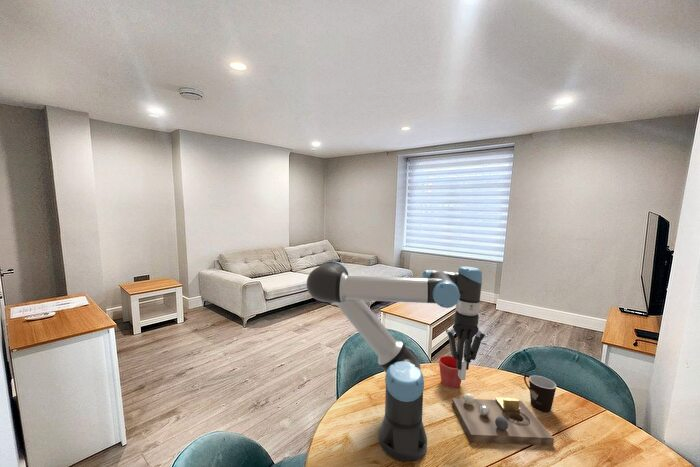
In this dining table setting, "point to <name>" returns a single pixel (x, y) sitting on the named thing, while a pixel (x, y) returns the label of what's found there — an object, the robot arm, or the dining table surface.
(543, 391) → the coffee mug
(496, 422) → the grey ball
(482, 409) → the steel ball
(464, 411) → the board
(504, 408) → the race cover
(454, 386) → the flower pot
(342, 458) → the dining table surface
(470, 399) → the cream ball
